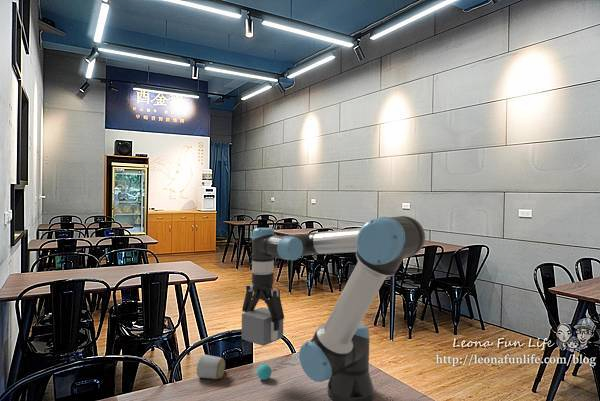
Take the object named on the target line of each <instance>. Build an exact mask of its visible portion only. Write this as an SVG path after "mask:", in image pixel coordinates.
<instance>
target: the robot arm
mask: <svg viewBox="0 0 600 401" xmlns="http://www.w3.org/2000/svg"><path fill="white" fill-rule="evenodd" d="M251 237H252V238H251V250H252V251H251V252H252V253H251V272H252V273H251V284H249V285H246V286H245V292H246V293H245V296H244V301H243V305H242V309H241V311H242V312H243V313H246V312H249V311H252V310H255V309H256V306H257V304H258V303H259V301H260V300H262V301H263V302H264V303H265V304H266V306H267V309H269V312H270V314H271V317H272V319H273V321H271V341H273V340H276V339H278V330H279V321H280V320H282V319H283V320H284V319H285V314H284V310H283V304H282V301H281V291H280V289H274V287H273V285H274V281H275V280H274V279H275V276H274V275H275V274H274V273H273V272H274V264H275V259H274V258H276V259H282V260H286V261H297V260H298V259H299V258H300V257H304V256H310V255H311V256H313V255H323V254H344V253H346V254H347V253H355V256H356V259H357V263H356V264H355V267H354V269H353V270H352V273H351V274H350V276H349V278H348V280H347V282H346V284H345V286H344V288H343V289H342V291H341V294H339V295H340V296H339V297H338V299H337V302H336V303H335V305H334V307H333V309H332V311H331V312H330V315H329V317H328V318H327V321H326V323H322V324H320V325H319V326H317V328H316V330H315V332H314V335H313V336H312V338H311V339H310V340H308V341H305V342H304V343H303V344H302V345H301V346H300V348H299V352H298V359H299V362H300V366H301V368H302V370H303V372H304V373H305V374H306V376H307V377H308V378H310V380H312V381H314V382H318V383H321V382H325V381H328V383H327V387H326V388H327V390H326V392H327V396H328V397H329V399H330V400H332V401H373V400H374V399H375V398H374V397H375V388H374V384H373V380H372V378H371V375H370V369H369V368H370V366H369V365H370V340H371V338H370V330H369V327H368V326H366V325H365V324H362V321H363V319H364V317H365V316H366V314H367V313H368V310H369V309H370V307H371V305H372V303H373V301H374V299H375V298H376V296H377V294H378V292H379V290H380V289H381V287H382V285H383V284H384V281H385V280H386V279H387V277H393V276H394V275H395V274H396V273H397V270H398V269H399V267H400V265H401V264H402V262H403V260H404V259H407V258H410V257H413V256H415V255H417V254H418V253H420V251H421V250H422V249H423V247H424V245H425V241H426V232H425V230H424V227H423V226H422V224H421V223H420V221H418V220H417V219H415V218H413V217H410V216H406V215H402V216H393V217H392V216H391V217H388V216H380V217H377V218H373V219H370V220H369V221H367V222H366V223H364V224H363V225H362V226H361V227H356V228H347V229H345V228H344V229H337V230H329V231H319V232H309V233H302V234H301V233H300V234H290V235H277V234H276V235H275V230H274V229H273V228H272V227H256V228H254V229H253V230H252V236H251ZM278 340H279V339H278ZM276 341H277V340H276Z"/></svg>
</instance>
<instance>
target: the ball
mask: <svg viewBox="0 0 600 401" xmlns="http://www.w3.org/2000/svg"><path fill="white" fill-rule="evenodd" d="M256 373H257V377H258V378H259V379H260V380H262V381H265V380H268V379H269V378H270V377H271V375H272V373H273V372H272V368H271V366H269V365H268V364H266V363H265V364H261V365H260V366H258V369H257V371H256Z"/></svg>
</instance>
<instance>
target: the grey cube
mask: <svg viewBox="0 0 600 401" xmlns="http://www.w3.org/2000/svg"><path fill="white" fill-rule="evenodd" d="M271 321H273V319H272V317H271V314H270V312H269V309H268V307H267V308H266V307H262V306H261V307H259V308H258V307H257V308H255V309H254V310H252V311H249V312H243V313H241V340H244V341H245V342H249V343H251V344H252V343H253V344H256V345H259V346H262V347H265V346H268V345H269V344H272V343H274V342H276V341H278V340H281V339H282V338H284V319H282V320H280V321H279V330H278V339H276V340H273V341H271Z"/></svg>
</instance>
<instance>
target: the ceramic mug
mask: <svg viewBox="0 0 600 401" xmlns="http://www.w3.org/2000/svg"><path fill="white" fill-rule="evenodd" d="M225 369H226V360H225V359H224V358H223V357H219V356H215V355H209V354H202V355H200V357H199V359H198V362H197V365H196V375H197V377H198V378H202V379H211V380H219V379H221V378H222V377H223V376H224V372H225Z"/></svg>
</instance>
